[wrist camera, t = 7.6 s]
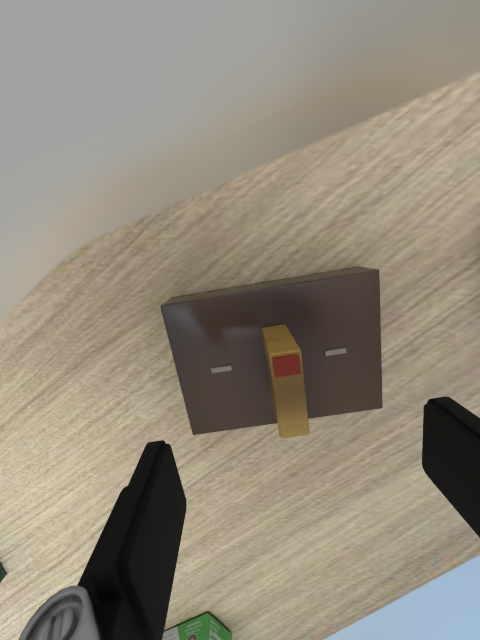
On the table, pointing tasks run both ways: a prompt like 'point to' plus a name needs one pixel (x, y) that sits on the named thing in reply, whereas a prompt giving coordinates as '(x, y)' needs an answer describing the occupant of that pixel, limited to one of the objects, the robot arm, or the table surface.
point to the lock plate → (249, 355)
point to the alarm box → (2, 573)
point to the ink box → (198, 630)
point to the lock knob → (286, 381)
